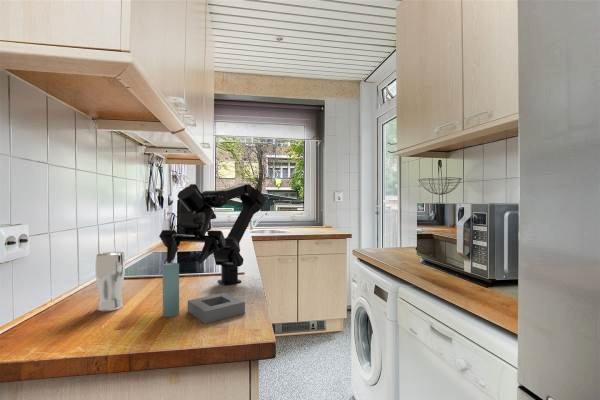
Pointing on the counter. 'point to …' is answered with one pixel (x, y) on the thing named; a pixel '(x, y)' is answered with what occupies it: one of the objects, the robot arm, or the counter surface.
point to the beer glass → (110, 280)
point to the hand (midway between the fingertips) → (183, 262)
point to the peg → (170, 289)
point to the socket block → (216, 307)
